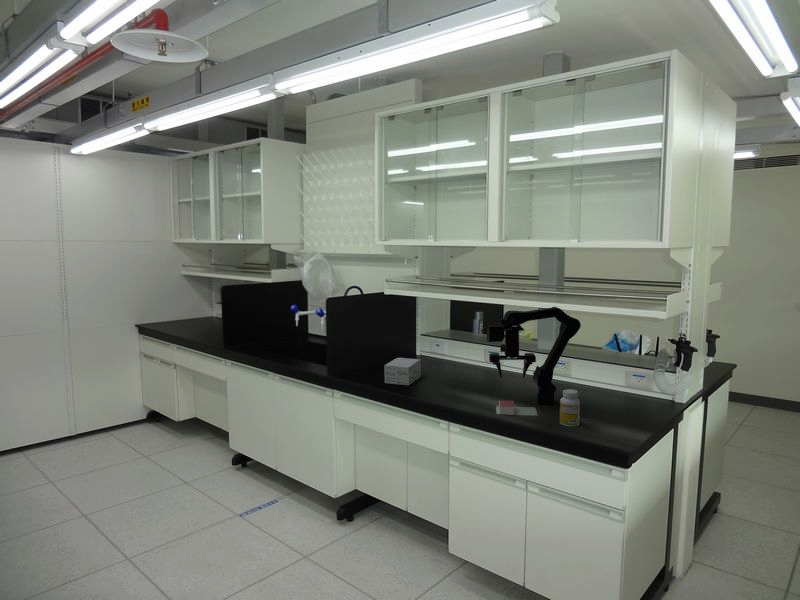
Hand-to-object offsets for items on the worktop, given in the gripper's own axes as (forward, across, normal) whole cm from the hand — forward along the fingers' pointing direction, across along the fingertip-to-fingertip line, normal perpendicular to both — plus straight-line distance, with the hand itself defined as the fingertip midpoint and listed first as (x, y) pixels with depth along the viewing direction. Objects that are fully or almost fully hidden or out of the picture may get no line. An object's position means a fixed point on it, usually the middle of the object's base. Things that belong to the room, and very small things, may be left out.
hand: (512, 377), depth 222 cm
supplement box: (+11, +50, -37) cm, 63 cm away
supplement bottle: (+12, -19, +22) cm, 31 cm away
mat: (+12, -1, +9) cm, 15 cm away
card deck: (+11, +3, +10) cm, 15 cm away
